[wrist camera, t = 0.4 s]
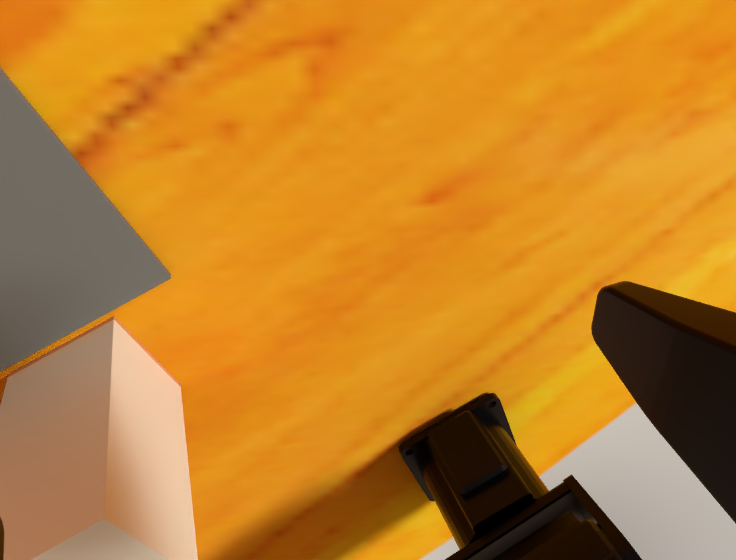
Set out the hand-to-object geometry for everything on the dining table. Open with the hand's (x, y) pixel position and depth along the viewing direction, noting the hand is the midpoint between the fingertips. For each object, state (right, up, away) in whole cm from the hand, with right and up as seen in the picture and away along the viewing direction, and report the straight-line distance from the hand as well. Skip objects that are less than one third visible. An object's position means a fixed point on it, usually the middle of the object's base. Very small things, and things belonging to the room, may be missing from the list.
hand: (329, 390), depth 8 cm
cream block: (-10, -3, +15) cm, 18 cm away
